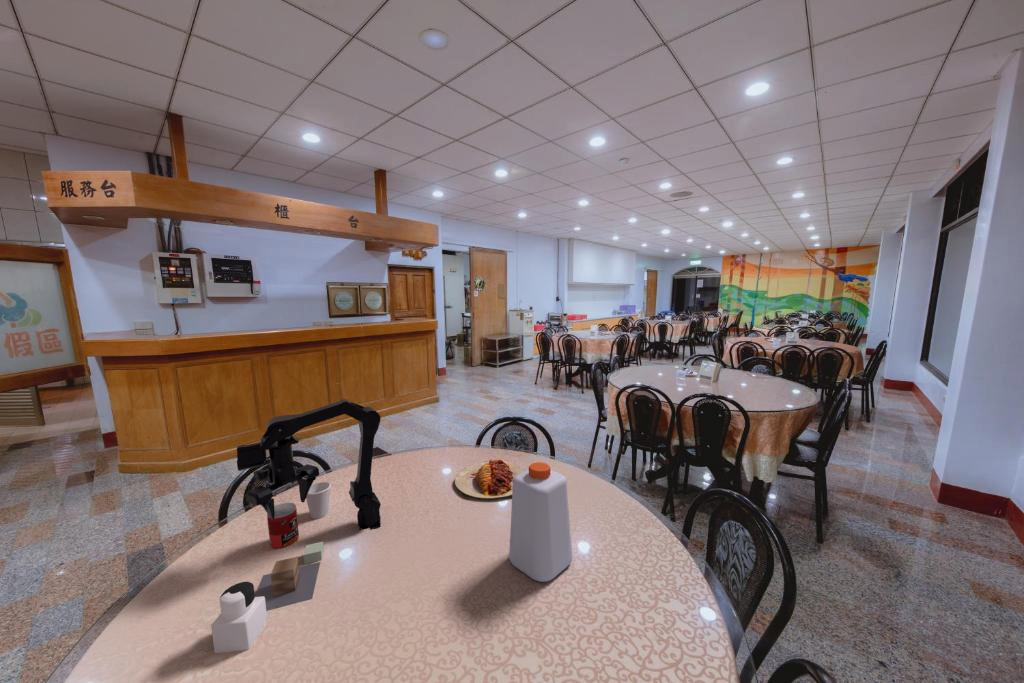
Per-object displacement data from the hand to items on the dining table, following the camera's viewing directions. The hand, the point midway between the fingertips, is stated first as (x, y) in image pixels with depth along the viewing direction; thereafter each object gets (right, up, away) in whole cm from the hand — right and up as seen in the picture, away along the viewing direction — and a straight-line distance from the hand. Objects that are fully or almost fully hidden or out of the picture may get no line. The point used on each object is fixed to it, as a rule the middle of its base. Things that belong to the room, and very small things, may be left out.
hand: (288, 510), depth 109 cm
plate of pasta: (+61, -8, +42) cm, 74 cm away
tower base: (+8, -14, -14) cm, 21 cm away
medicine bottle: (+7, -16, -28) cm, 33 cm away
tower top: (+8, -11, -14) cm, 19 cm away
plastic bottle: (+75, -12, -5) cm, 76 cm away
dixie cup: (-1, -11, +20) cm, 23 cm away
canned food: (-4, -13, +5) cm, 14 cm away
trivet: (+8, -14, -14) cm, 21 cm away
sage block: (+9, -13, -2) cm, 16 cm away
